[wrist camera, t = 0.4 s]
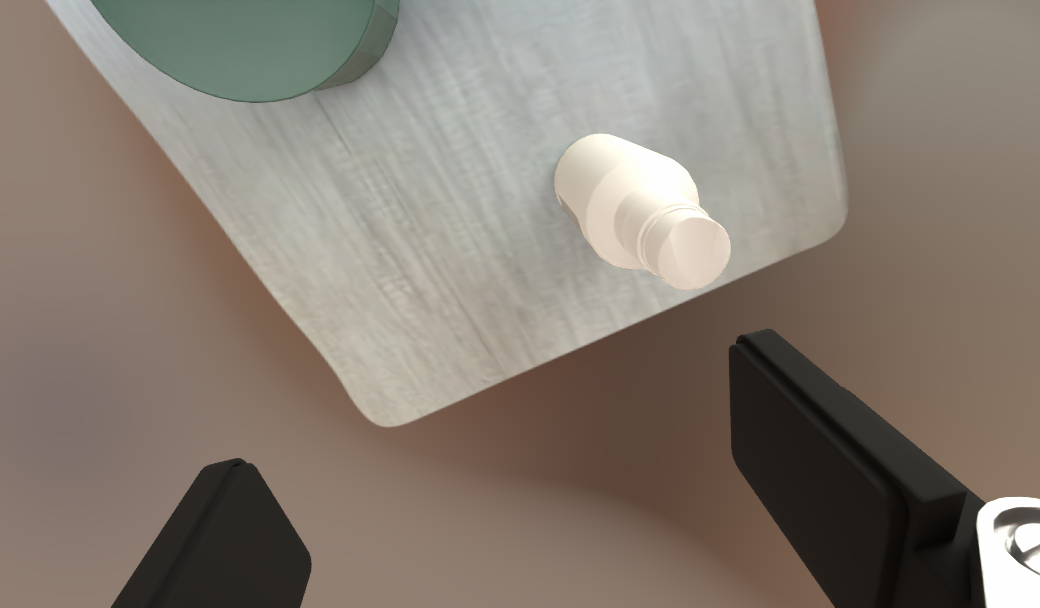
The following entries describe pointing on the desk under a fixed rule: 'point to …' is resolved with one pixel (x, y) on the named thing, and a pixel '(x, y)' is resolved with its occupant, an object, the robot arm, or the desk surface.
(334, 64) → the lid
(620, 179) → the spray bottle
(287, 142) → the desk surface
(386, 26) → the pot
